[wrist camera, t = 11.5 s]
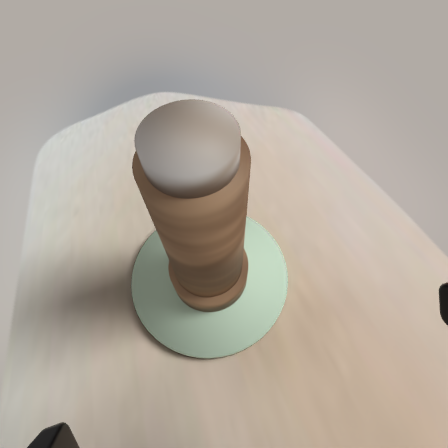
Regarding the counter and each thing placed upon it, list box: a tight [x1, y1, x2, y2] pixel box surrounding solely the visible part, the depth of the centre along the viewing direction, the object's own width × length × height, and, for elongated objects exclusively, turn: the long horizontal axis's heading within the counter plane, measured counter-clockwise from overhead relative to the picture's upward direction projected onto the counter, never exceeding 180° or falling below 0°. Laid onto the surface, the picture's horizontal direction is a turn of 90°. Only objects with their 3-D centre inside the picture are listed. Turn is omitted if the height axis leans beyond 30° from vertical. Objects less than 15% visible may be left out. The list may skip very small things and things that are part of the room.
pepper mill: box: [132, 100, 251, 312], centre depth 16 cm, size 5×5×13 cm
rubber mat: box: [131, 216, 288, 359], centre depth 22 cm, size 11×11×1 cm
